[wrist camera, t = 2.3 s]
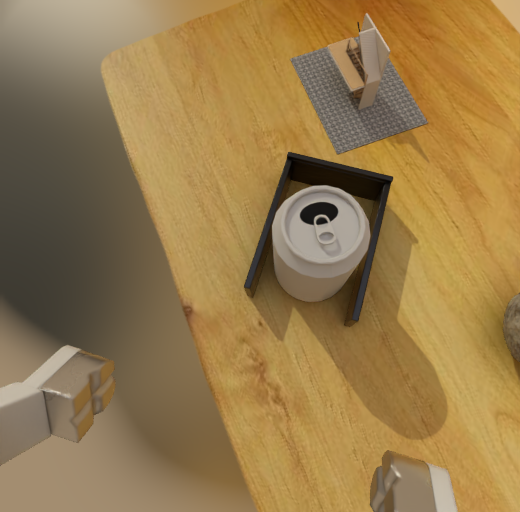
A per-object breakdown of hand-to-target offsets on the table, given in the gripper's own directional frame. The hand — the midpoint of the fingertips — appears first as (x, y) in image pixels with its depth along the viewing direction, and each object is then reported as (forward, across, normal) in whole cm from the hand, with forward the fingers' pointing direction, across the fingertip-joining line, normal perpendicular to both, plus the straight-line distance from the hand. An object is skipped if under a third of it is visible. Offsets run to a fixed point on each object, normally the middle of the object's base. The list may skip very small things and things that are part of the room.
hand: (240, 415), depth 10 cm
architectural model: (+43, 0, -7) cm, 44 cm away
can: (+27, -1, +9) cm, 28 cm away
